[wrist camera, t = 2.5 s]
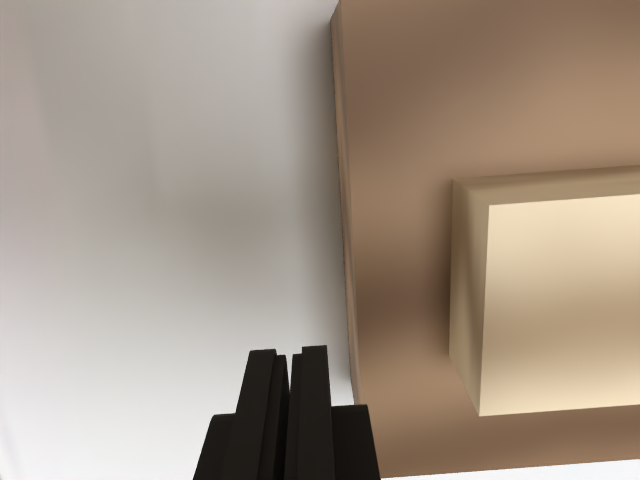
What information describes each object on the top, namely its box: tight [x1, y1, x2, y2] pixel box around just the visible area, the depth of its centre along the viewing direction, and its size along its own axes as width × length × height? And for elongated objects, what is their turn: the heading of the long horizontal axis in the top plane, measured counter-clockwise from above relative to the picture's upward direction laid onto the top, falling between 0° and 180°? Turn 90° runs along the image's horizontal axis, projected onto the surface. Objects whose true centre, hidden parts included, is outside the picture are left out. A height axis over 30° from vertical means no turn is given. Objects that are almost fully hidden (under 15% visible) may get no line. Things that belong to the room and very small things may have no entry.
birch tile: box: [449, 165, 640, 416], centre depth 14 cm, size 6×6×3 cm
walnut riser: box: [330, 0, 640, 478], centre depth 18 cm, size 16×16×6 cm
